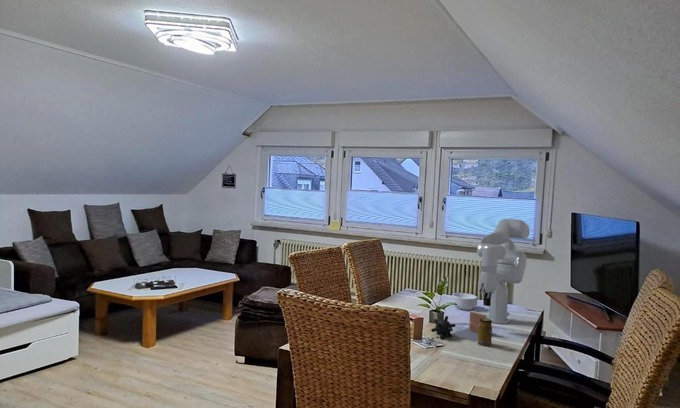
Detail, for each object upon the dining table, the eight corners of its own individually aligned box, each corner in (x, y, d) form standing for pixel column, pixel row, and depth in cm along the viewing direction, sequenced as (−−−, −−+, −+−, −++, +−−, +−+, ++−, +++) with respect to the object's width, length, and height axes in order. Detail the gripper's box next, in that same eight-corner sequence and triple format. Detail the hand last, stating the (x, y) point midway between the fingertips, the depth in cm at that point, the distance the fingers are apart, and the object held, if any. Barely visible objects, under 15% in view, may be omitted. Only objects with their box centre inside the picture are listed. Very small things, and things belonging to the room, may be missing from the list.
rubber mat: (471, 328, 239) (471, 327, 239) (496, 335, 228) (496, 334, 228) (448, 334, 225) (448, 334, 225) (474, 342, 215) (474, 341, 215)
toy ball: (427, 325, 228) (451, 320, 229) (434, 345, 221) (458, 339, 222) (428, 315, 221) (452, 309, 221) (435, 335, 213) (460, 329, 214)
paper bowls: (473, 313, 270) (474, 299, 270) (448, 308, 278) (448, 295, 278) (479, 307, 283) (480, 295, 283) (455, 304, 291) (456, 291, 291)
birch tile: (471, 330, 233) (472, 310, 233) (485, 334, 227) (486, 314, 227) (468, 331, 232) (469, 311, 231) (483, 335, 226) (484, 315, 225)
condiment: (484, 342, 216) (486, 316, 216) (498, 348, 209) (499, 321, 208) (472, 343, 213) (474, 318, 213) (486, 349, 206) (487, 323, 205)
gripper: (489, 267, 242) (487, 302, 242) (474, 269, 232) (472, 305, 232) (503, 270, 236) (501, 305, 236) (488, 271, 226) (485, 308, 226)
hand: (486, 305), depth 234 cm, fingers closed
